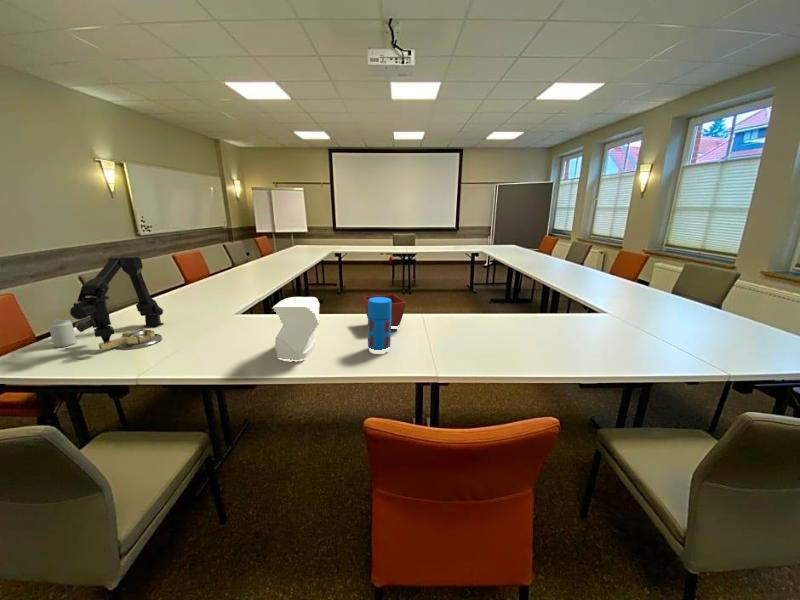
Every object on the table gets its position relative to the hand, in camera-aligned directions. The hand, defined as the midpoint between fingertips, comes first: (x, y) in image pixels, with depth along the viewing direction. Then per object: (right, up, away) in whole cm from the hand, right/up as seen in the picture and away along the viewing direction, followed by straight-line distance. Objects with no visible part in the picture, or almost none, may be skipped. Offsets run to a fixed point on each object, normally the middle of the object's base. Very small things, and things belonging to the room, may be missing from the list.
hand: (106, 344), depth 149 cm
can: (-22, -1, +4) cm, 23 cm away
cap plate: (+7, 0, +9) cm, 12 cm away
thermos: (+123, -4, +9) cm, 123 cm away
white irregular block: (+88, -5, +3) cm, 88 cm away
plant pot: (+123, +4, +40) cm, 130 cm away
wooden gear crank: (+5, 0, +5) cm, 8 cm away
